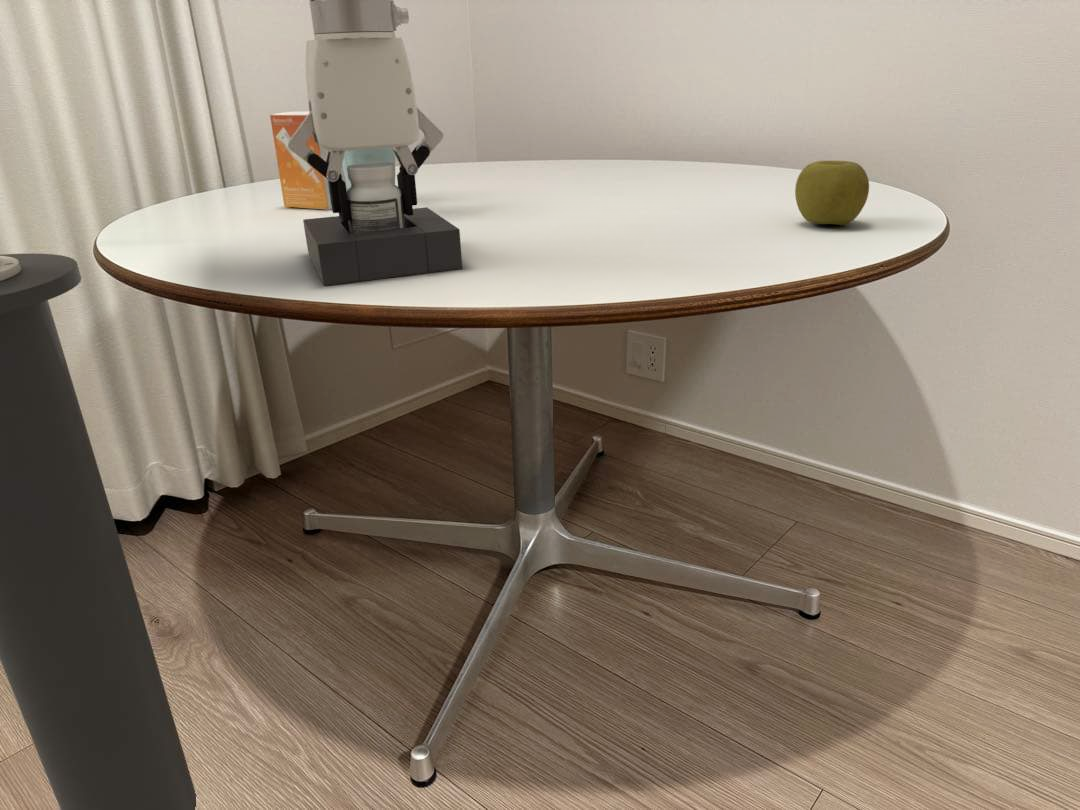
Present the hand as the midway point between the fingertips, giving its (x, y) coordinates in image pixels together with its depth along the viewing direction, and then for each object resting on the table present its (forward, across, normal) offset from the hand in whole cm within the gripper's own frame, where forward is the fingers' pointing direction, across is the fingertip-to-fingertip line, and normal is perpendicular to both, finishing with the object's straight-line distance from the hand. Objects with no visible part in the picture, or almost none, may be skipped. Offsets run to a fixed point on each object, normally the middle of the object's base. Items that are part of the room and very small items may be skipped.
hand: (376, 214), depth 81 cm
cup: (+5, -4, -27) cm, 28 cm away
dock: (+5, 0, 0) cm, 5 cm away
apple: (+5, -51, +8) cm, 52 cm away
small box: (+5, +2, -40) cm, 40 cm away
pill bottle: (+5, 0, 0) cm, 5 cm away
